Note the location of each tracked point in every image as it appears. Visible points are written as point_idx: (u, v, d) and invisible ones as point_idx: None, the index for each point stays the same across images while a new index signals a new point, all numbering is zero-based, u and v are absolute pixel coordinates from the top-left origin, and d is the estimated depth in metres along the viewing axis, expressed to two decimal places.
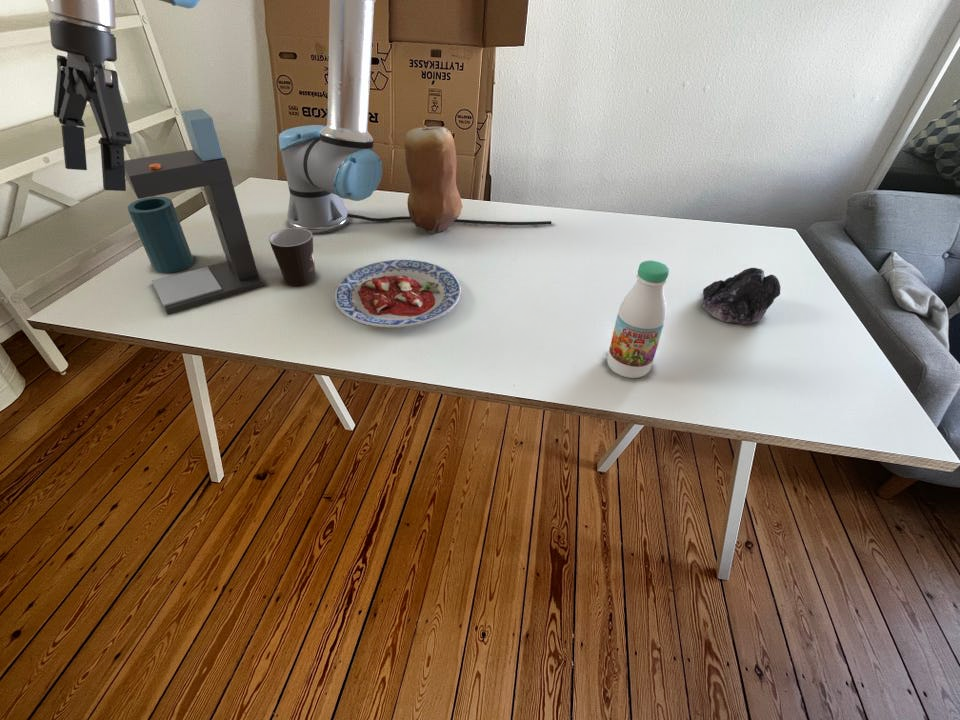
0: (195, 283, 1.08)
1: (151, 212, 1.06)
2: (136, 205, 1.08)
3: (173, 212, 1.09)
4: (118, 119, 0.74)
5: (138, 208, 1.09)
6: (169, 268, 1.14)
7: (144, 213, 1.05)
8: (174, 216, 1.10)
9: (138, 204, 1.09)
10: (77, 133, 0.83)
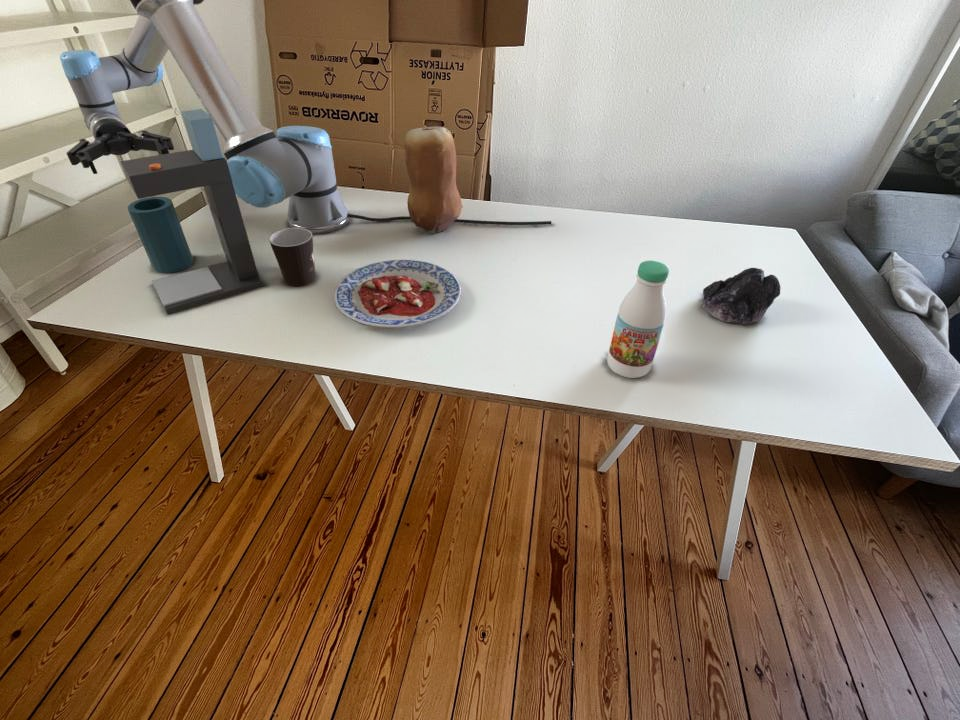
0: (195, 283, 1.08)
1: (151, 212, 1.06)
2: (136, 205, 1.08)
3: (173, 212, 1.09)
4: None
5: (138, 208, 1.09)
6: (169, 268, 1.14)
7: (144, 213, 1.05)
8: (174, 216, 1.10)
9: (138, 204, 1.09)
10: (156, 146, 1.16)
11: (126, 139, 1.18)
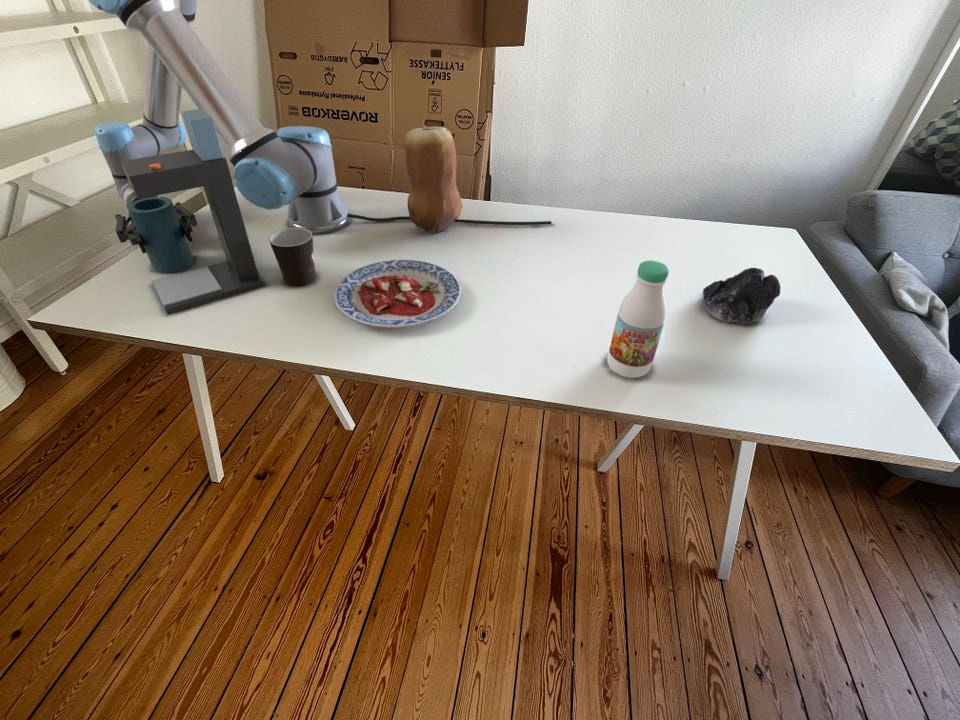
0: (195, 283, 1.08)
1: (151, 212, 1.06)
2: (136, 205, 1.08)
3: (172, 212, 1.09)
4: None
5: (138, 208, 1.09)
6: (169, 268, 1.14)
7: (144, 213, 1.05)
8: (174, 216, 1.10)
9: (138, 204, 1.09)
10: None
11: None
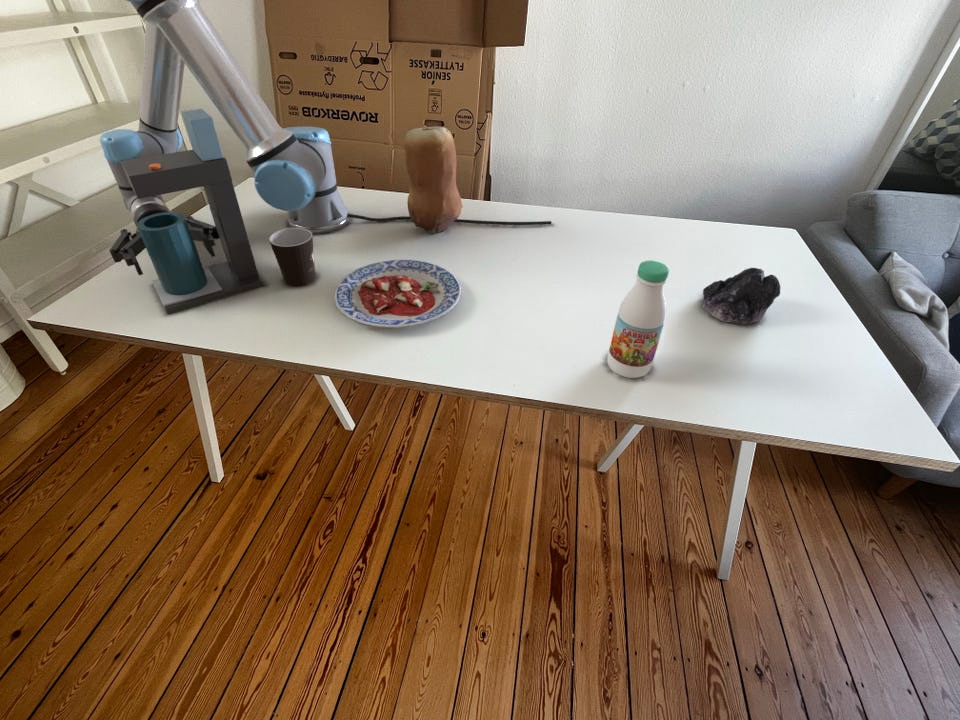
0: None
1: (163, 230, 0.96)
2: (146, 222, 0.99)
3: (186, 229, 1.00)
4: None
5: (148, 225, 0.99)
6: (182, 290, 1.04)
7: (155, 231, 0.96)
8: (187, 234, 1.00)
9: (148, 221, 0.99)
10: (201, 238, 1.06)
11: None
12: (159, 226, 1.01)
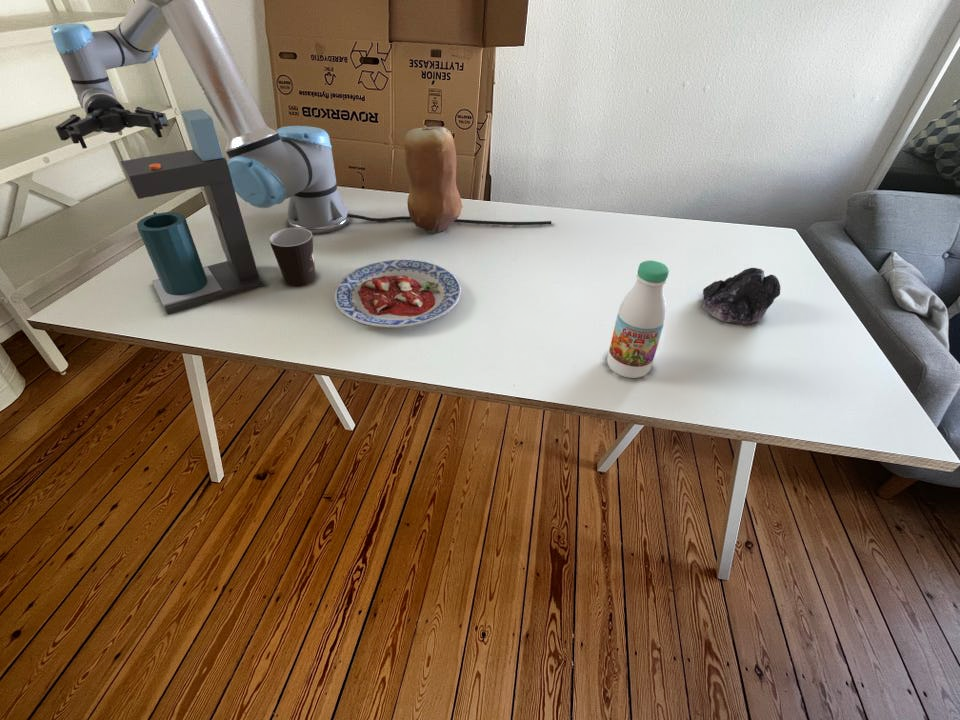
0: None
1: (163, 230, 0.96)
2: (146, 222, 0.99)
3: (186, 229, 1.00)
4: None
5: (148, 225, 0.99)
6: (182, 290, 1.04)
7: (155, 231, 0.96)
8: (187, 234, 1.00)
9: (148, 221, 0.99)
10: (149, 121, 1.11)
11: (119, 115, 1.12)
12: (159, 226, 1.01)
